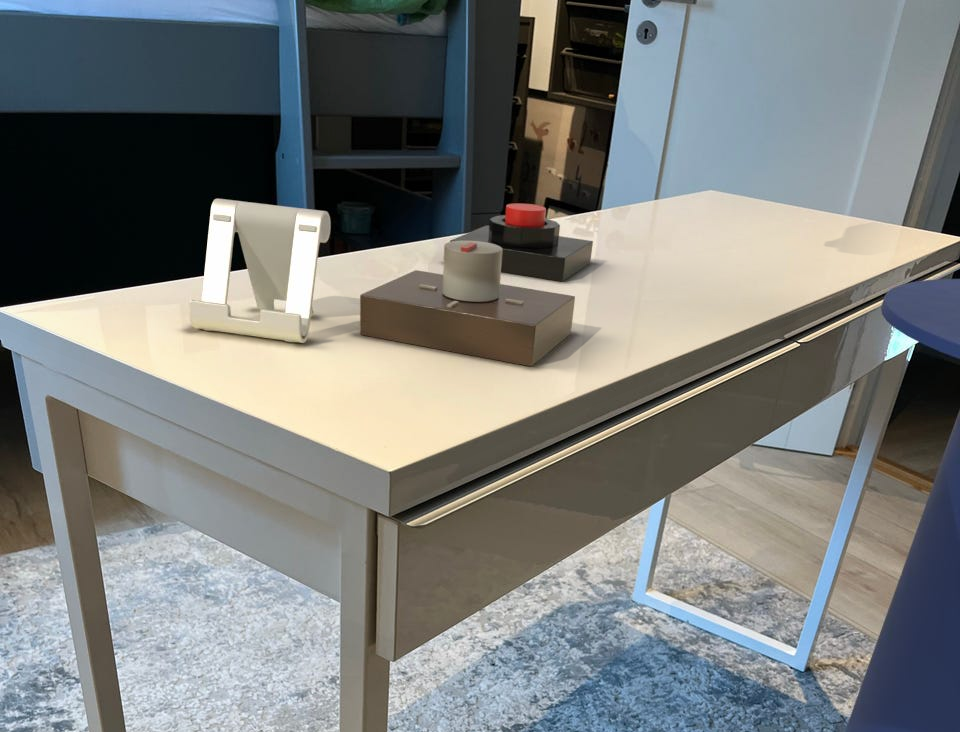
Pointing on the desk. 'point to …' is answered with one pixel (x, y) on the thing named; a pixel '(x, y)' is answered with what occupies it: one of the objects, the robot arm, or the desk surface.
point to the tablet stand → (262, 268)
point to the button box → (534, 248)
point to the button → (525, 214)
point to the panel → (467, 319)
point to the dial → (472, 271)
